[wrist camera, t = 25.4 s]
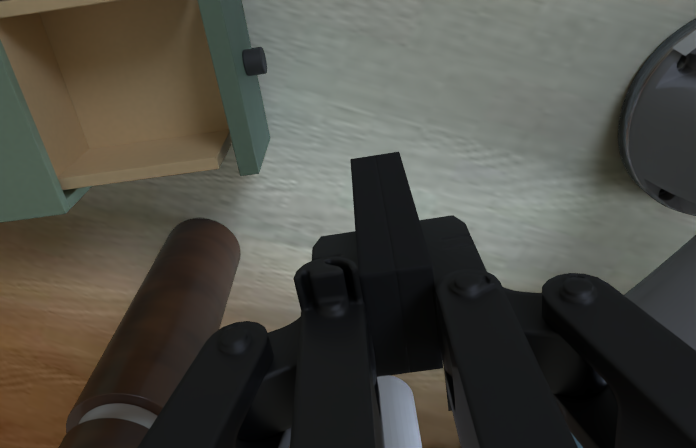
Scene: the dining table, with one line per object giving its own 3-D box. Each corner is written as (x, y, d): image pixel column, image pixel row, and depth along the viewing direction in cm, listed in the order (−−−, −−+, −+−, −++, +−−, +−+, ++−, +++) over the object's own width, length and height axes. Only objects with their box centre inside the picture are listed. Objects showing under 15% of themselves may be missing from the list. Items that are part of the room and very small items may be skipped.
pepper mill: (230, 213, 44) (129, 484, 22) (247, 276, 47) (171, 572, 25) (157, 223, 44) (-15, 500, 22) (178, 285, 47) (43, 585, 25)
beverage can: (333, 400, 53) (332, 516, 43) (373, 358, 51) (383, 469, 40) (385, 427, 55) (396, 545, 45) (426, 387, 53) (449, 502, 42)
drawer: (250, -50, 34) (232, -47, 29) (286, 136, 40) (278, 171, 34) (24, -15, 35) (-39, -5, 29) (91, 163, 41) (49, 202, 35)
